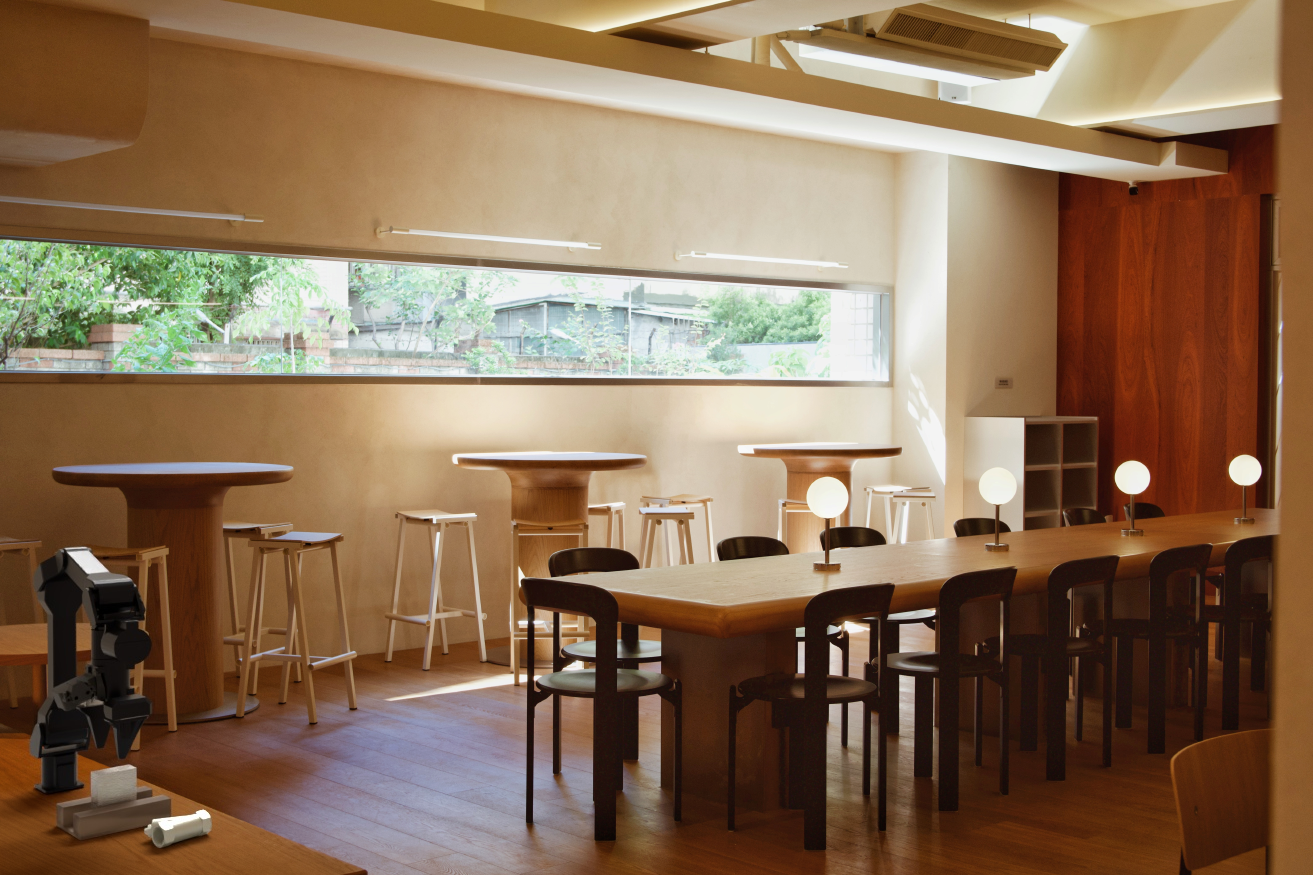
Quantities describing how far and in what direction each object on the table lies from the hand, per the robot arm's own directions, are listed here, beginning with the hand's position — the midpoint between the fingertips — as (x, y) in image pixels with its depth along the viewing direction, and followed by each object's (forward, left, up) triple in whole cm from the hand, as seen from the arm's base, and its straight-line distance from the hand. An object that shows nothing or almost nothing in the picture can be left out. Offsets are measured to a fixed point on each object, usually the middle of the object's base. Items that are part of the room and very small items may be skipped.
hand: (110, 753), depth 195 cm
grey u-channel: (+1, 0, -11) cm, 11 cm away
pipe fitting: (+16, +4, -11) cm, 20 cm away
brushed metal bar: (+1, 0, -10) cm, 10 cm away
